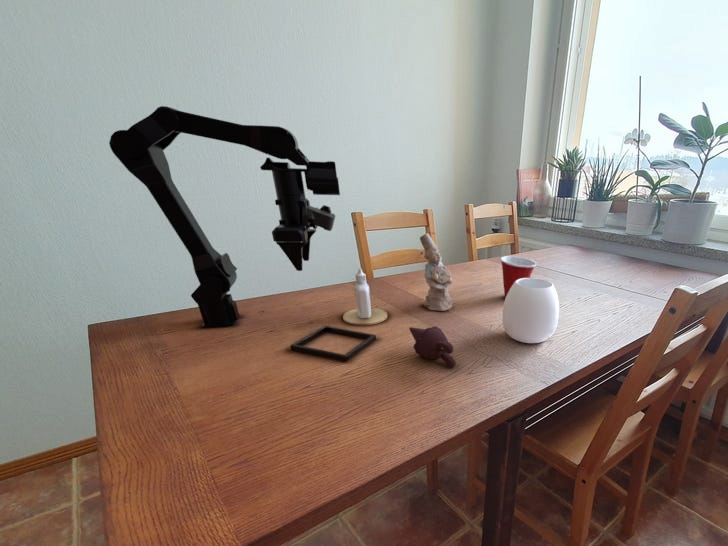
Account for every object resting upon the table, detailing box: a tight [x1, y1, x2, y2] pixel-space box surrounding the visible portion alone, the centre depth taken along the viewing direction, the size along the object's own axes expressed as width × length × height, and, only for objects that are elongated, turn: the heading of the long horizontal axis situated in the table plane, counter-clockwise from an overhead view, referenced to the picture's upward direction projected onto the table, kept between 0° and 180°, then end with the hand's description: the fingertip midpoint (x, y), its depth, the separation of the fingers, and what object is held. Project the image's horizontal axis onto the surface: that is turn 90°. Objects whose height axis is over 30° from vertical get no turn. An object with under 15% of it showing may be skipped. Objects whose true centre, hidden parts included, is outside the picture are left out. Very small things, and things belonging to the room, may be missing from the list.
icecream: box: [408, 326, 457, 368], centre depth 78 cm, size 7×7×15 cm
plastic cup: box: [500, 255, 537, 299], centre depth 113 cm, size 11×11×12 cm
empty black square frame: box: [289, 325, 377, 363], centre depth 82 cm, size 13×11×1 cm
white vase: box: [501, 277, 560, 344], centre depth 88 cm, size 13×13×14 cm
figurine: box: [419, 232, 453, 312], centre depth 101 cm, size 9×8×20 cm
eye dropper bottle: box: [354, 268, 372, 319], centre depth 93 cm, size 4×6×12 cm
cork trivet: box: [342, 307, 388, 326], centre depth 96 cm, size 11×11×1 cm
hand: (303, 265), depth 89 cm, fingers open, 9 cm apart
